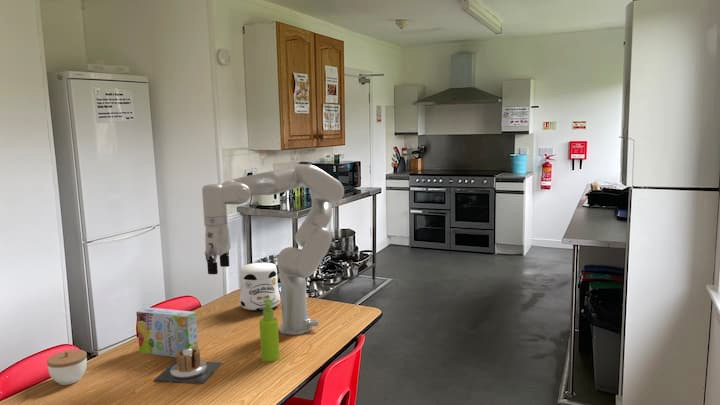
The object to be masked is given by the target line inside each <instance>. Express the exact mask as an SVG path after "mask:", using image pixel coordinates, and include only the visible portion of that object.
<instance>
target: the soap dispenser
mask: <svg viewBox="0 0 720 405" xmlns="http://www.w3.org/2000/svg"><path fill="white" fill-rule="evenodd" d="M264 302H265V309H264V310H263V311H262V317H263V318H261V319H259V337H260V352H261V354H260V356H261V357H260V358H261V361H263V362H266V363H271V362H272V363H273V362H276V361H278V360H279V359H280V344H279V343H280V342H279V341H280V340H279V338H280V337H279V322H278V318H277V317H274V308H273V309H271V308H270V306H273V305H274V303H273V302H272V301H271V300H270V299H267V300H264Z"/></svg>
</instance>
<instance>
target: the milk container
mask: <svg viewBox="0 0 720 405" xmlns="http://www.w3.org/2000/svg"><path fill="white" fill-rule="evenodd" d="M239 274H240V275H239V276H240V277H239V278H240V291H239V296H238V297H239V304H240V307H241V308H242V309H243V310H245V311H249V312H263V310H264V309H265V302H264V300H267V299H270V300H271V301H272V302H273V303H274V305H273V306H270V308H271V309H273V310H274V308H277V307H278V306H279V305H280V303H281V289H280V288H279V283H278V277H279V276H278V267H277V264H275V263H272V262H254V263H248V264H244V265H242V266H241V267H240V270H239Z"/></svg>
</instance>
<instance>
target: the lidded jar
mask: <svg viewBox="0 0 720 405" xmlns="http://www.w3.org/2000/svg"><path fill="white" fill-rule="evenodd" d="M87 357H88V353H87V352H86V351H85V350H83V349H69V350H63V351H62V352H61V351H60V352H58V353H55V354H54V355H51V356H50V357H48V358H47V360H46V365H47V369H48V370H47V371H48V374H49V376H50V378H51V379H52V380H53V381H54V382H55V383H58V385H60V386H69V385H73V384H75V383H77V382H79V381H80V380H81V378H82V377H83V376H84V374H85V373H86V370H87V367H88V366H87V364H88V358H87Z"/></svg>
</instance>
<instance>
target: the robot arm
mask: <svg viewBox="0 0 720 405" xmlns="http://www.w3.org/2000/svg"><path fill="white" fill-rule="evenodd" d="M299 188H306V189H307V188H308V190H309V191H308V192H309V194H310V200H311V208H310V210H309V212H308V214H307V216H306V217H305V219H304V220H303V222H302V224H301V225H300V226H299V228H298V229H297V231H296V233H295V236H294V238H295V239H294V240H295V243H296V244H297V245H298V246H300V247H302V248H301V249H300V248H297V247H293V246H289V247H287V246H286V247H285V248H283V249H282V250H281V251H279V253H278V255H277V259H276V261H277V264H276V266H277V271H278V273H279V281H280V296H281V297H280V302H281V320H282V324H280V325H278V333H279V332H280V333H281V334H283V335H287V336H298V335H303V334H306V333H308V332H310V331H311V330H312V329H313V327H319V321H318V320H317V319H311V318H310V315H308V300H307V299H308V297H307V282H306V281H307V279H306V278H309V277H311V276H312V275H313V274H314V273H315V272H317V269H318V268H319V266H320V264H321V263H322V261H323V260H324V258H325V256H326V255H327V254H328V251H329V249H330V247H331V244H332V240H333V239H332V238H333V237H332V234H331V232H330V231H329V229H327V227H328V225H329V223H330V221H331V219H332V216H333V206H332V205H333V204H335V203H338V202H340V201H341V200H342V199H344V198H343V197H344V195H345V188H344V185H343V184H342V183H341V181H339V180H338V179H337V178H335V177H333V176H331V175H330V174H329V173H327V172H326V171H324V170H323V169H321V168H319V167H318V166H316V165H313V164H307V163H306V164H304V163H298V164H294V165H290V166H285V167H282V168H278V169H277V168H276V169H274V170H270V171H265V172H261V173H256V174H250V175H246V176H240V177H238V178H233V179H232V178H231V179H229V180H226V181H224V182H222V184H221V183H210V184H205V185H203V186H202V190H201V194H202V209H203V222H204V227H205V233H204V234H205V235H204V236H205V238H204V239H205V240H204V241H205V250H204V255H205V260H206V264H207V274H208V275H217V274H219V273H218V262H217V258H218V257H219V266H220V267H225V268H226V267H227V268H228V267H230V250H231V239H230V231H229V226H228V213H227V211H228V210H227V209H228V208H227V205H242V204H246V203H248V201H249V200H250V198H251V197H252V196H273V195H278V194H281V193H284V192H288V191H291V190H296V189H299Z"/></svg>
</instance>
